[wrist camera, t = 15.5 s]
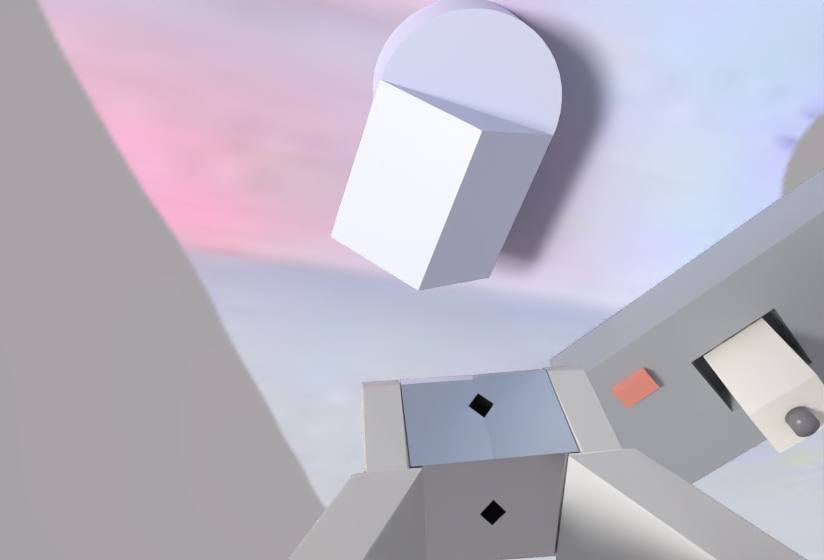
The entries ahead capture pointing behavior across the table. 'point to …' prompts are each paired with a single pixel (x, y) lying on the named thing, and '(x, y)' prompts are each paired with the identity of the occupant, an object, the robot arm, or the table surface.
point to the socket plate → (709, 336)
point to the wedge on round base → (450, 143)
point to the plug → (770, 384)
